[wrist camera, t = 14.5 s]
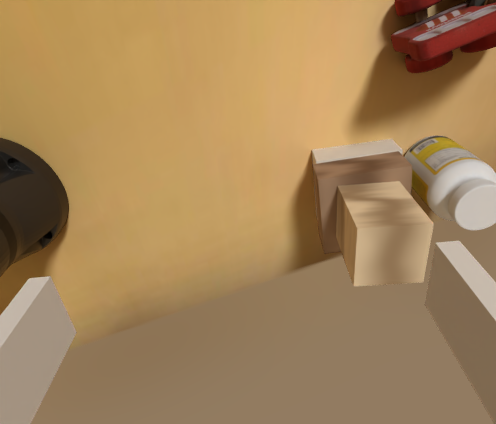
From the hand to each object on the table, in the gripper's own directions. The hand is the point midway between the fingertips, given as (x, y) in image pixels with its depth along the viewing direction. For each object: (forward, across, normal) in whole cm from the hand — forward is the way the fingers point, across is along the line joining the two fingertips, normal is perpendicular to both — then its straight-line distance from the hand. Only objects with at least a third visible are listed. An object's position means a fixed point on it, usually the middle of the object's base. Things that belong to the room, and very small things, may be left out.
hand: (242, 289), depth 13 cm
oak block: (+23, +11, -11) cm, 28 cm away
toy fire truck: (+31, +20, +5) cm, 37 cm away
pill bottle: (+31, +20, -10) cm, 38 cm away
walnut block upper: (+27, +11, -12) cm, 32 cm away
